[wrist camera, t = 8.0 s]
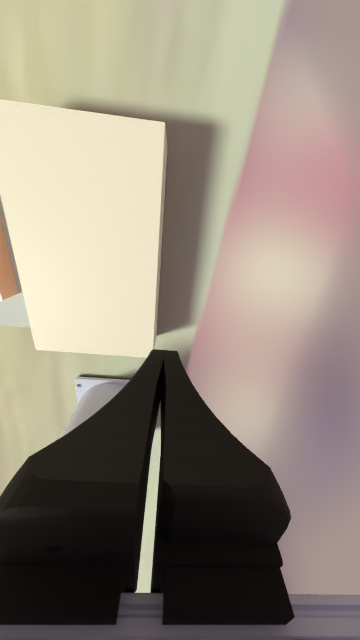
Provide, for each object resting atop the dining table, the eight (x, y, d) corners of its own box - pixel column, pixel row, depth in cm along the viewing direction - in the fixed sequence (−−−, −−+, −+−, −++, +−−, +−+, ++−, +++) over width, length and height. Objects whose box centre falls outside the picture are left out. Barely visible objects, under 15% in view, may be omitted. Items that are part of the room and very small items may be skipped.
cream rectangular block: (156, 335, 22) (152, 357, 18) (59, 328, 21) (35, 349, 18) (167, 147, 15) (165, 122, 11) (27, 128, 15) (-23, 96, 11)
